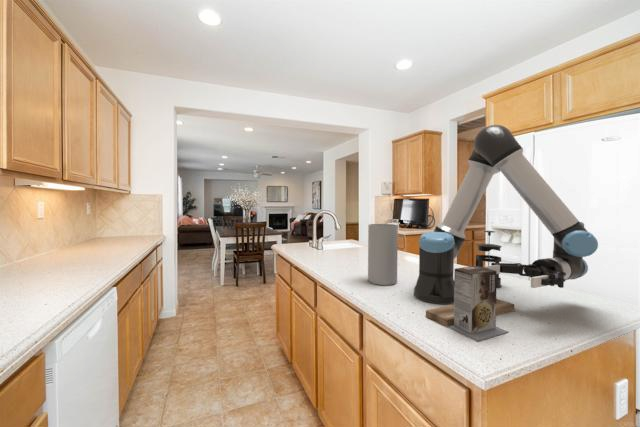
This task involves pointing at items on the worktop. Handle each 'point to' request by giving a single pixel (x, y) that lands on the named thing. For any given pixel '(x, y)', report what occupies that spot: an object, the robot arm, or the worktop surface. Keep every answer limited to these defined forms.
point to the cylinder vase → (382, 253)
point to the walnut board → (447, 312)
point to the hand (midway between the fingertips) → (506, 276)
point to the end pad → (480, 333)
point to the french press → (489, 256)
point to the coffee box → (475, 298)
